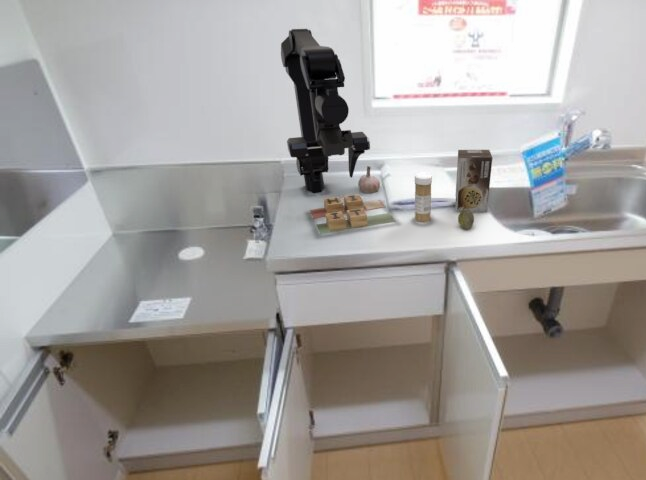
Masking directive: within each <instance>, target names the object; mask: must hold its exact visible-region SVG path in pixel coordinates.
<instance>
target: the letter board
mask: <svg viewBox="0 0 646 480" xmlns="http://www.w3.org/2000/svg"><path fill="white" fill-rule="evenodd" d="M378 209H379V210H380V209H386V206H385V205H384V204H383V202H382V201H381V199H375V200H369V201H363V210H364V211H365V212H367V211H372V210H373V211H374V210H378ZM343 210H344V213H343V215H347V209H346V207H345V205H344V204H343ZM309 213H310V214H311V217H312V219H313V220H314V219H319V218H326V216H325V214H327V212H326V210H325V207H322V208H315V209H309ZM395 222H396V223H397V220H396V219H395V218H394V217H393V215H392V214H391V213H390V212H387V213H380V214H374V215H367V223H368V225H365V226H359V227H353V228H351V226H350V224H349V222H348V221H347V219H346V226H347V228H346V229H340V230H334V231H330V230H329V228H328V226H327V223H326V222H323V223H317V224H315V226H316V228H317V231H318V232H319V235H324V234H330V233H336V232H341V231H342V232H343V231H347V230H355V229H359V228H367V227H373V226H378V225H383V224H384V225H385V224H390V223H395Z"/></svg>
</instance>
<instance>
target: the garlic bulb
mask: <svg viewBox="0 0 646 480" xmlns="http://www.w3.org/2000/svg"><path fill="white" fill-rule="evenodd" d="M357 185H358V189H359V191H360V192H361V193H364V194H373V193H377V192H379V191H378V190H379V189H380V186H381V181H380V180H379V179H378V177H376V176H375V175H371V165H367V166H366V174H364V175H361V176H360V177H359V180H358V182H357Z"/></svg>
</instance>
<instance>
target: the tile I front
mask: <svg viewBox="0 0 646 480" xmlns="http://www.w3.org/2000/svg"><path fill="white" fill-rule="evenodd" d="M325 216H326V217H325V223H327V226H328V228H329V230H330V231H334V230H340V229H346V228H347V226H346V220H347V217H346V216H345V214H343V213H342V211H340V212H334V213H327V214H325Z"/></svg>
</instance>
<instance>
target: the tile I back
mask: <svg viewBox="0 0 646 480" xmlns="http://www.w3.org/2000/svg"><path fill="white" fill-rule="evenodd" d="M363 202H364V200H363V197H361V195H360V194H359V193H357V194H349V195H348V194H347V195H344V196H343V205H345V207H346V209H347V210H353V209H360V208H363Z"/></svg>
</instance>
